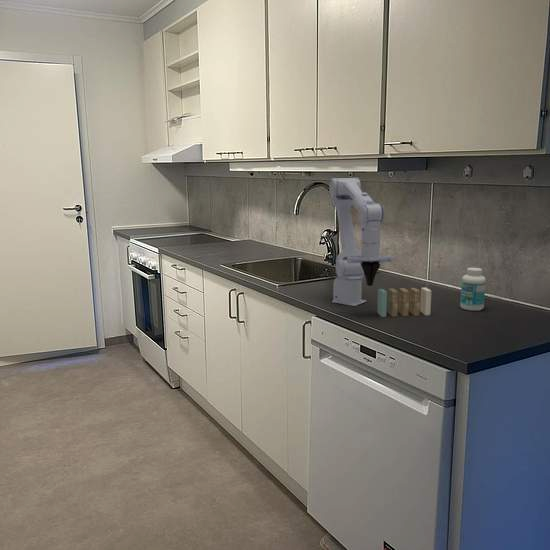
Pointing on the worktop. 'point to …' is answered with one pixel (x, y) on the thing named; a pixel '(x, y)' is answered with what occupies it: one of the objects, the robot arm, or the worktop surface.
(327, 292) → the worktop surface
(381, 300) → the domino
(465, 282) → the pill bottle
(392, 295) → the domino
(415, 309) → the domino
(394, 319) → the worktop surface
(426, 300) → the domino
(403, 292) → the domino
